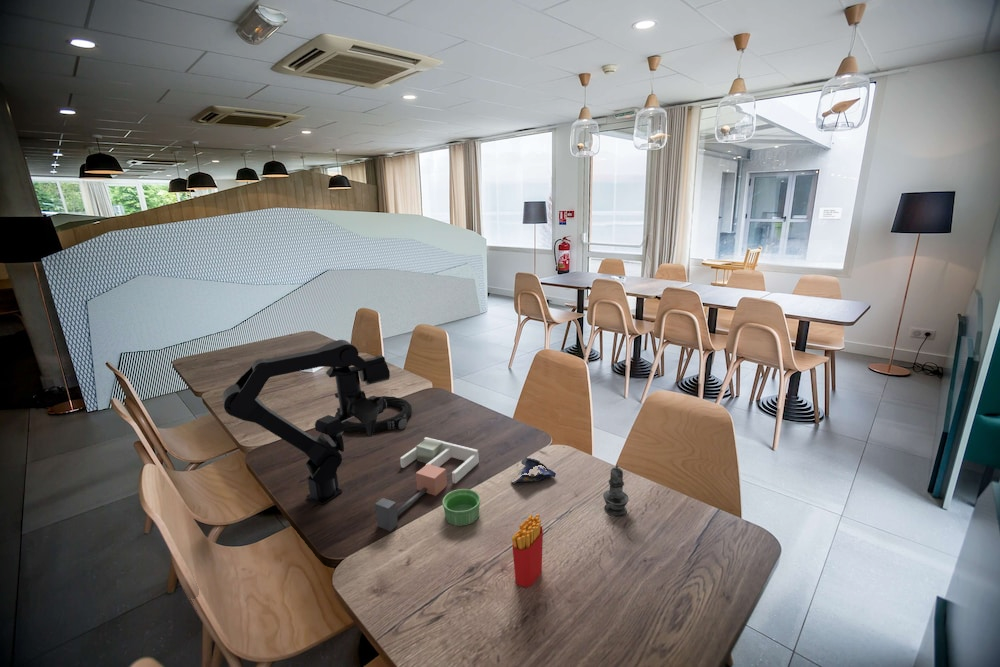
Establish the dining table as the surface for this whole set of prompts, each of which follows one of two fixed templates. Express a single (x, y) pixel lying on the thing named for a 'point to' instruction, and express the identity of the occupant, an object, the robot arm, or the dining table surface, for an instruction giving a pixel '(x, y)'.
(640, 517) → the dining table surface
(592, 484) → the dining table surface
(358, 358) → the robot arm
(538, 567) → the french fries
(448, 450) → the lane rack
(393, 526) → the tethered block
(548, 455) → the dining table surface
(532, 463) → the snack package
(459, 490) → the ramekin
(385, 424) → the cable lock
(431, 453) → the sage block
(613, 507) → the dark chess piece
